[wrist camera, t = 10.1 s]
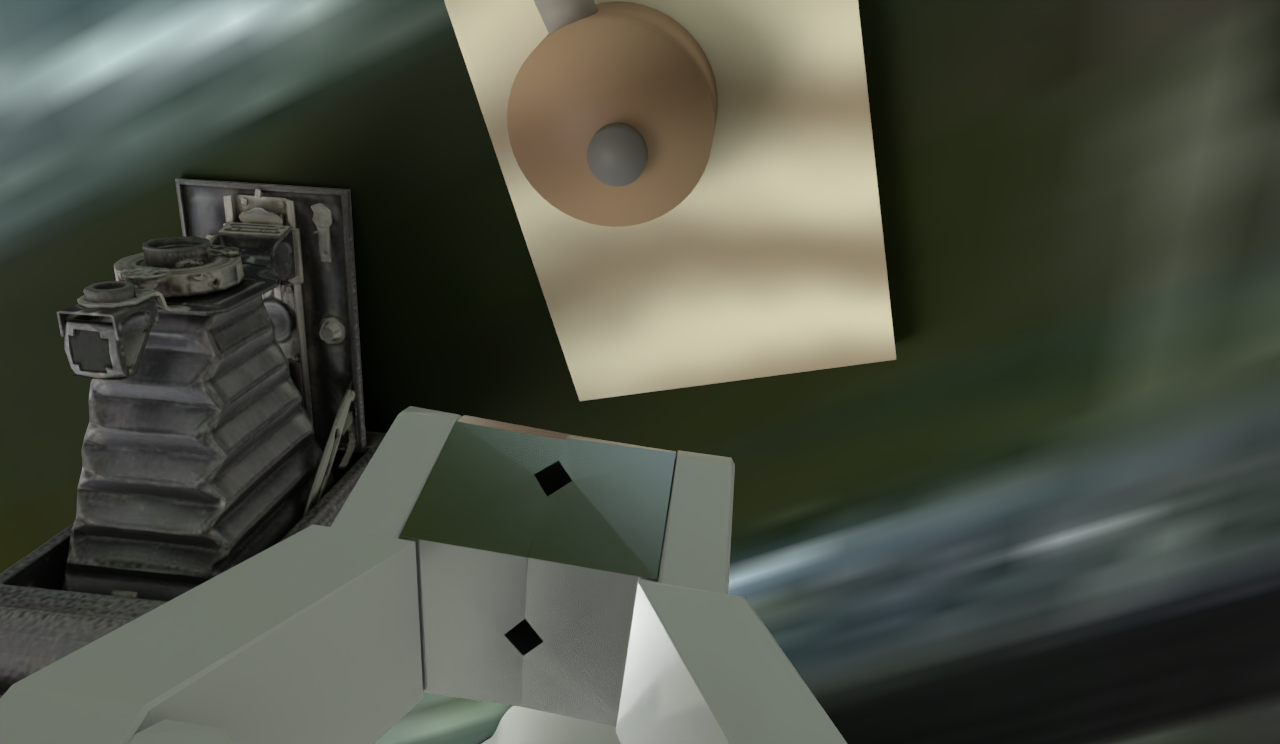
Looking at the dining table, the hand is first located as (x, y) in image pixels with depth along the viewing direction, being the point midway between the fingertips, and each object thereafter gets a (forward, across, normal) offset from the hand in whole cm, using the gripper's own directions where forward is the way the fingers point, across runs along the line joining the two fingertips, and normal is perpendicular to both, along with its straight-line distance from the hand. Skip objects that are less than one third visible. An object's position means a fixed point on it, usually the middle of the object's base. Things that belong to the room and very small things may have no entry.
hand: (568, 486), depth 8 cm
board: (+27, +1, +5) cm, 28 cm away
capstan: (+26, +4, +2) cm, 26 cm away
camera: (+27, +18, +18) cm, 37 cm away
